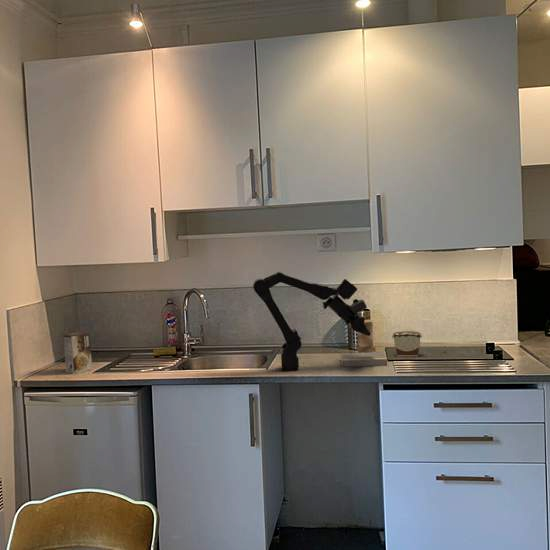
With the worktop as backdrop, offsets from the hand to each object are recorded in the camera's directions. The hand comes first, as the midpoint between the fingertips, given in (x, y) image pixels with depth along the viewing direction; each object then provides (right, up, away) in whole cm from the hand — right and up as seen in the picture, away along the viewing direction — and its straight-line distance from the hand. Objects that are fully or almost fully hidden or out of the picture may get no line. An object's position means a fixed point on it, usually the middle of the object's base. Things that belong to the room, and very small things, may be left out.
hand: (368, 334), depth 246 cm
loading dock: (-1, -12, +4) cm, 13 cm away
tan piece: (-1, -7, 0) cm, 7 cm away
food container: (+19, -11, +15) cm, 27 cm away
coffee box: (-121, -17, +13) cm, 123 cm away
